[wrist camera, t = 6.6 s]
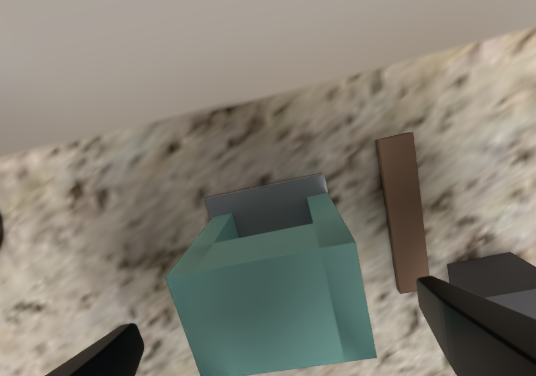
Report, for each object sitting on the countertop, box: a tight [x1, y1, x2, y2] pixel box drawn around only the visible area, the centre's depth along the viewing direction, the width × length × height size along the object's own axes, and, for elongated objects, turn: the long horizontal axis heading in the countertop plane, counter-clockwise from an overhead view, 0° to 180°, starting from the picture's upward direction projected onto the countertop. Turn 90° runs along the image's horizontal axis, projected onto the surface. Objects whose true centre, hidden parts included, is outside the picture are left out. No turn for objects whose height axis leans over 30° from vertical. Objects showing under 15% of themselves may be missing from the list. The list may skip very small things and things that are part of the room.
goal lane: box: [376, 132, 429, 294], centre depth 13 cm, size 9×8×1 cm
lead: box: [447, 252, 536, 319], centre depth 13 cm, size 3×10×3 cm, turn 15°
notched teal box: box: [165, 193, 377, 376], centre depth 11 cm, size 6×4×6 cm
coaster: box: [204, 173, 328, 238], centre depth 14 cm, size 6×6×1 cm
